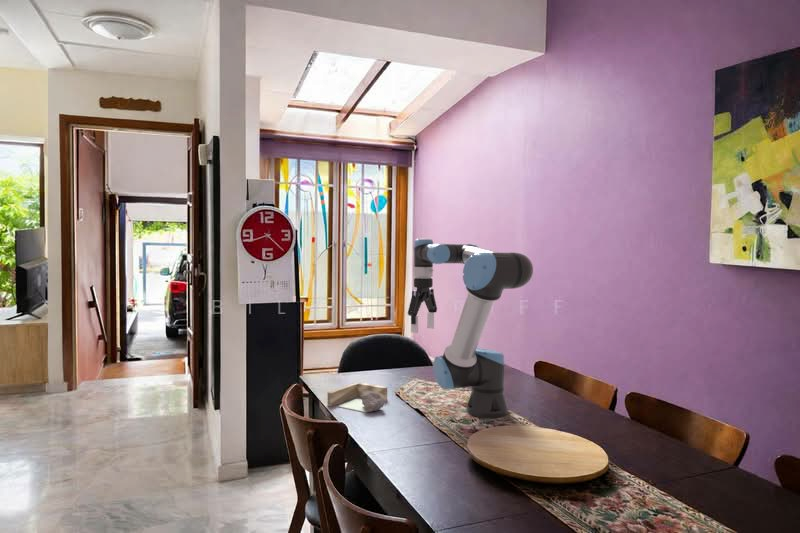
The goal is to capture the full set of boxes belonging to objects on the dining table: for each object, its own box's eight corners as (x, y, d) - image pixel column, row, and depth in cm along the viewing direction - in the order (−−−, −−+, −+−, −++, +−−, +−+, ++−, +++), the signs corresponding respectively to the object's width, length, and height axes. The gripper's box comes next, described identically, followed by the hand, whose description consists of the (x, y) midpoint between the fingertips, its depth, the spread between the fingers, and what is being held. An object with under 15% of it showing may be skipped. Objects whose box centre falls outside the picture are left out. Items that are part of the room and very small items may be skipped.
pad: (384, 404, 201) (384, 403, 201) (366, 412, 191) (366, 411, 191) (356, 399, 208) (356, 398, 207) (337, 406, 197) (337, 406, 197)
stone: (353, 405, 196) (354, 390, 195) (371, 403, 201) (372, 388, 200) (367, 413, 188) (369, 397, 188) (386, 411, 193) (387, 395, 192)
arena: (387, 399, 207) (387, 387, 207) (359, 411, 191) (360, 398, 191) (356, 394, 215) (356, 381, 215) (327, 405, 199) (327, 392, 199)
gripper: (416, 279, 199) (415, 335, 199) (445, 276, 220) (444, 327, 221) (399, 278, 203) (398, 333, 203) (429, 276, 224) (428, 325, 225)
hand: (422, 330), depth 212 cm, fingers open, 13 cm apart
